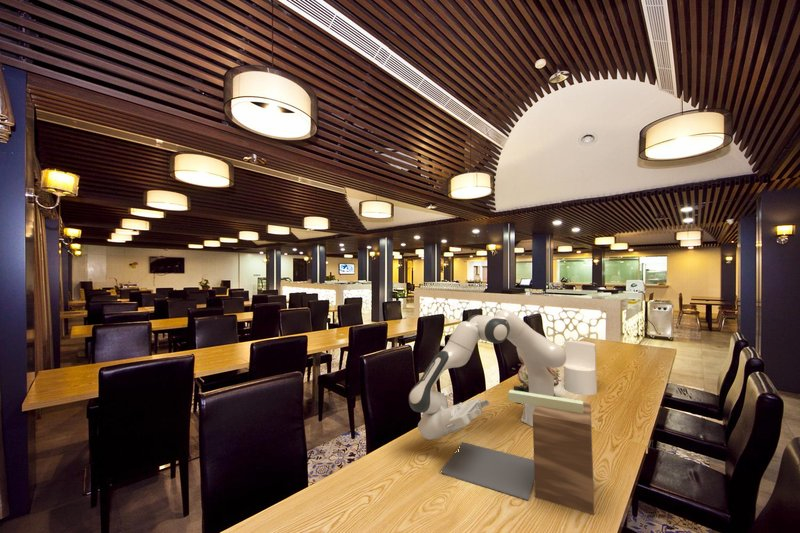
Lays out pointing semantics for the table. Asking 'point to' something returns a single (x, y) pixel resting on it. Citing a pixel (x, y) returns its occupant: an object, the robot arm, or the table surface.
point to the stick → (546, 401)
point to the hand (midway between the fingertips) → (484, 406)
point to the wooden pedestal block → (564, 457)
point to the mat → (492, 470)
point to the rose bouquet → (524, 376)
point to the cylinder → (580, 367)
